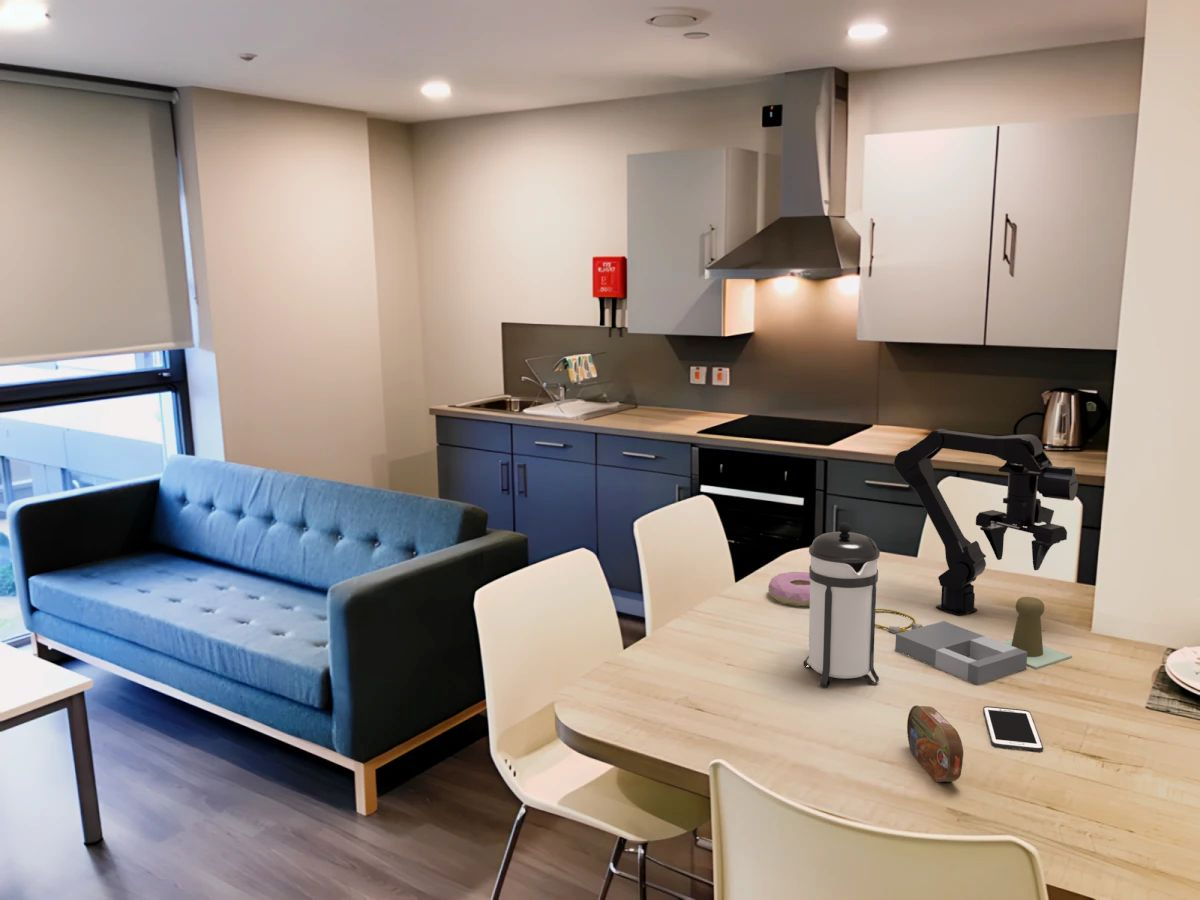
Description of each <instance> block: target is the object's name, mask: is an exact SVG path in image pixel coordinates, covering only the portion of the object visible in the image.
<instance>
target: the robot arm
mask: <svg viewBox="0 0 1200 900" xmlns="http://www.w3.org/2000/svg"><path fill="white" fill-rule="evenodd" d="M1043 447H1044V446H1043V443H1042V440H1041V439H1039V437H1038V436H1036V435H1034V434H1031V433H1030V434H1028V433H1027V434H1013V435H1001V436H1000V435H998V436H996V435H990V434H989V435H988V434H979V433H971V432H962V431H956V430H955V431H954V430H948V429H946V428H939V429H935V430H933V431H931V432H930V433H928V435H926V437H924V438H923V439H922V440H920V441H919V442H917V443H916V444H914V445H913V446H911V447H910V448H908V449H905V450H902V451H899V452H898V453H897V454H896V456H895V457H894V461H893V466H894V469H895V470H896V471H897V473H898V474H899V476H900V477H901V479H902V480H903V481H904V482H905V483H906V484H908V485H909V486H910V487H911V488H913V490H914V491H915V493H916V494H917V496H918V497H919V498H918V499H919V500H920V502H921V503H922V506H923V508H924V509H925V511H926V513H927V515H928V517H929V519H930V521H931V523H932V525H933V526H934V528H935V531H936V533H937V534H938V536H939V538H940V540H941V542H942V544H943V545H944V553H945V562H946V565H947V567H948V569H947V570H946V571H944V572H943V573H941V574H940V575H939V576H938V577H937V578H938V582H939V585H940V586H941V595H940V596H941V597H940V599H941V600H940V604H938V605H935V608H936V609H939V610H941V611H945V612H947V613H950V614H953V615H956V616H962V615H966V614H970V613H974V612H977V611H978V608H977V607H975V596H976V594H975V592H974V589H975V586H974V584H972V583H973V582H975V581H976V580H977V578H978V576H980V575H982V574H983V572H985V569H986V566H987V561H986V557H987V555H986V554H985V553H984V552H983V551H982V549H981V546H980V544H979V542H978V541H977V540H975V541H973V542H971V541H970V540H969V539H968V538H966V537H965V536H964V533H963V532H962V531H961V529H960V525H958V522H957V521H956V519H955V517H954V515H953V513H952V512H951V509H950V508H949V506H948V504H947V502H946V500H945V498H944V496H943V494H942V493H941V490H940V489H939V487H938V484H937V483H936V481H935V473H934V472H935V471H934V466H933V463H932V461H931V459H933V458H934V457H935V456H936V455H937V454H939V453H940V452H941V451H942V450H943V449H946V450H947V449H948V450H952V451H959V452H960V451H962V452H968V453H975V454H983V455H989V456H993V457H996V458H998V459H999V460H1000V459H1001V460H1002V461H1005V463H1004V464H1003V465H1002V466H1001V467H999V468H998V472H999V473H1008V476H1007V477H1008V478H1007V479H1008V480H1007V496H1006V497H1003V498H1002V503H1003V504H1006V509H1005V510H1006V512H1005V511H1004V512H1003V511H998V510H995V509H991V510H990V509H989V510H985V511H980V512H979V513H978V514H977V515H976V517H975V526H978V527H979V529H980V531H982V532H983V533H984V535H985V537H986V538H987V540H988V542H989V544H990V547H991V550H992V551H993V553H994V555H995V558H996V559H997V560H999V561H1001V560H1002V559H1003V555H1004V541H1005V539H1004V537H1005V533H1006V532H1007V530H1008V529H1013V530H1018V531H1020V532H1021V531H1022V532H1025V533H1030V534H1032V537H1033V539H1034V540H1031V551H1032V552H1031V553H1032V554H1031V555H1032V565H1033V566H1032V567H1033V570H1034V571H1039V570H1040V568H1041V566H1042V563H1043V562H1044V560H1045V557H1046V555H1047V554H1048V552H1049V550H1050V549H1051V548H1052V547H1053V546H1054V544H1059V543H1061V542H1063V541H1066V540H1067V539H1068V538H1067V537H1068V532H1067V531H1068V530H1067V528H1066V527H1065V526H1064V525H1059V524H1054V523H1052V520H1053V516H1054V513H1055V510H1054V509H1050V508H1047V507H1045V506H1042V503H1041V498H1038V495H1037V493H1039V494H1040V495H1041V496H1042V497H1043V498H1049V499H1056V500H1063V501H1071V502H1072V501H1074V500H1075V498H1076V496H1077V491H1078V487H1079V482H1078V479H1077V474H1076V468H1075V467H1073V466H1072V467H1071V466H1066V467H1065V466H1056V465H1054V466H1053V463H1052V461H1051V460H1050V458H1049V457H1048V455H1047V454H1046V452H1045V451H1044V448H1043ZM1041 523H1044V524H1041ZM1038 524H1039V525H1038Z"/></svg>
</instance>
